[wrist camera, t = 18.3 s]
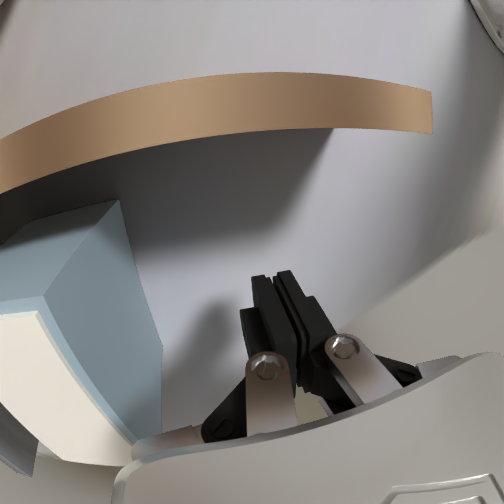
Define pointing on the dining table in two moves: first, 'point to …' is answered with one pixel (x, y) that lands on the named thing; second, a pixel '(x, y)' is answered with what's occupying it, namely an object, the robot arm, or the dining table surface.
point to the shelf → (191, 127)
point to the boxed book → (79, 337)
